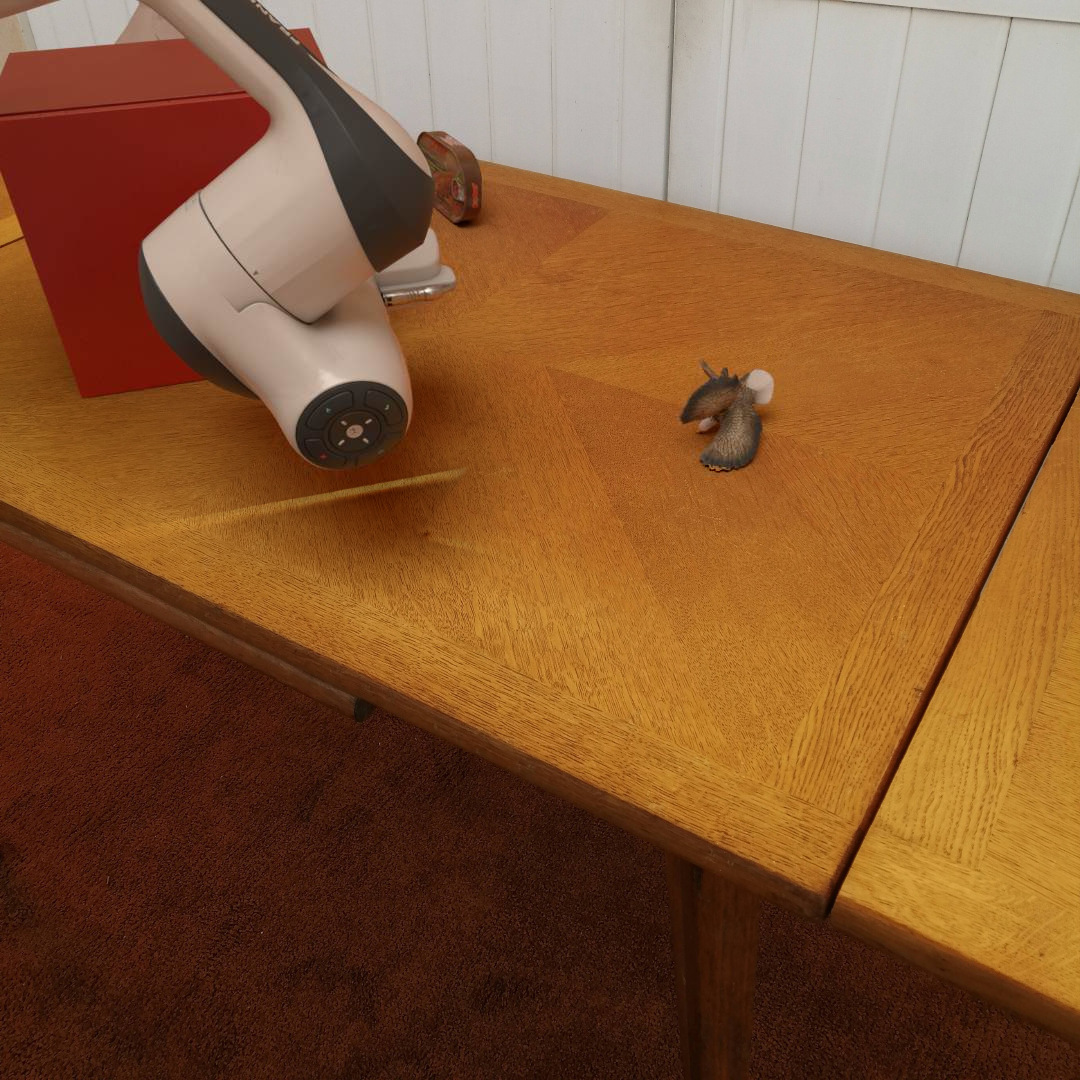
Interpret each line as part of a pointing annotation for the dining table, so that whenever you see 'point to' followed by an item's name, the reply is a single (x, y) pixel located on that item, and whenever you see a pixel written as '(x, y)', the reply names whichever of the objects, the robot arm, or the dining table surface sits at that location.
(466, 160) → the tin
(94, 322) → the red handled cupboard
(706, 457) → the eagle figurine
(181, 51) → the red cabinet
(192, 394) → the dining table surface
